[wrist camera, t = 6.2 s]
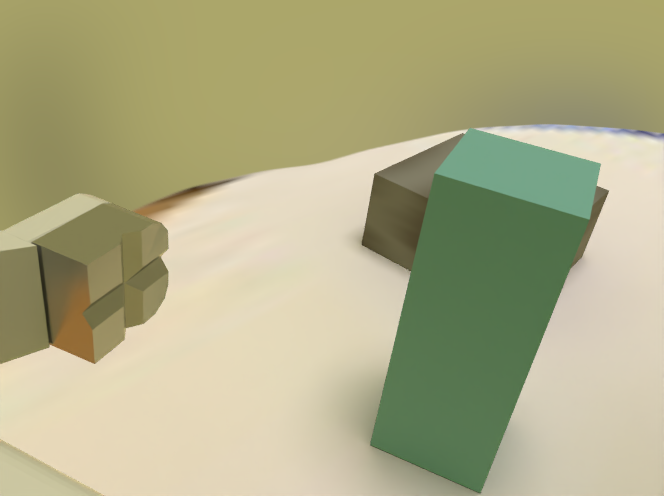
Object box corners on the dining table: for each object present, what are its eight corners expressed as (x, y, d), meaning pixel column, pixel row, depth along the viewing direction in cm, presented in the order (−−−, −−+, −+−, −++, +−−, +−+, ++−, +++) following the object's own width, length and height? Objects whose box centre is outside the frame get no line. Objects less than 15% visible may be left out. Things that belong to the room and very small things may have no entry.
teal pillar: (503, 414, 27) (600, 163, 21) (480, 493, 24) (589, 219, 17) (405, 375, 29) (469, 127, 22) (370, 444, 25) (434, 173, 19)
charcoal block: (580, 260, 40) (609, 190, 37) (511, 330, 33) (540, 250, 30) (445, 199, 45) (462, 133, 42) (361, 248, 38) (374, 173, 35)
